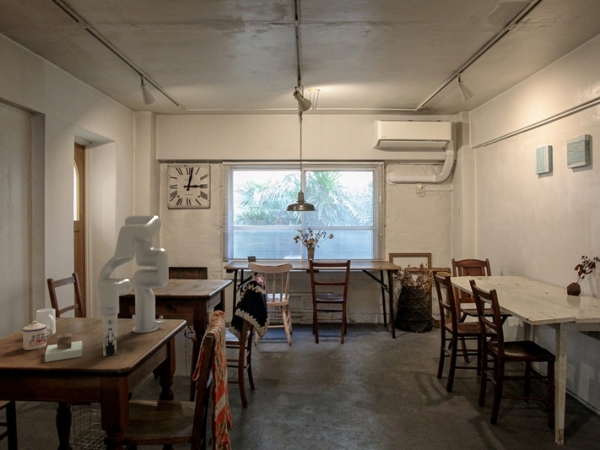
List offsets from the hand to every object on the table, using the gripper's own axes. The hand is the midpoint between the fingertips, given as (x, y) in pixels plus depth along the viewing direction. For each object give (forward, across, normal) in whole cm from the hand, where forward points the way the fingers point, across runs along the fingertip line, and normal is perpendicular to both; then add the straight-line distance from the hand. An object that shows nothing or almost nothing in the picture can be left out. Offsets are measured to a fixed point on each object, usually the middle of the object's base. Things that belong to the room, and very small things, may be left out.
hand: (109, 351), depth 166 cm
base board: (+1, +8, +17) cm, 19 cm away
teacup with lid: (+1, +27, +28) cm, 39 cm away
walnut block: (-2, +8, +17) cm, 19 cm away
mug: (+1, +46, +26) cm, 53 cm away
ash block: (+1, 0, 0) cm, 1 cm away
